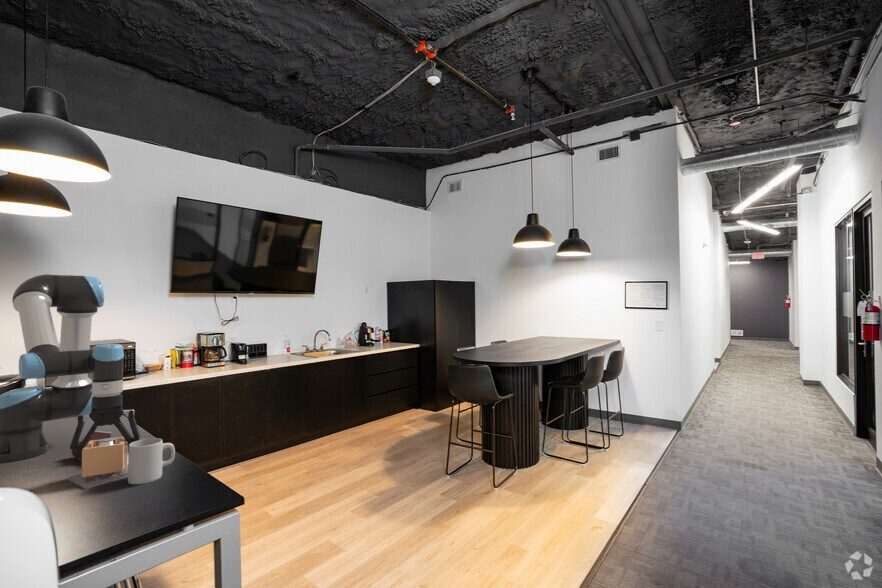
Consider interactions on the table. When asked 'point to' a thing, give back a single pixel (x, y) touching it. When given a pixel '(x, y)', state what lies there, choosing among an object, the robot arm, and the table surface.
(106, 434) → the bracket
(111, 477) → the duct flange
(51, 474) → the table surface
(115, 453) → the tan wooden box
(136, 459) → the mug
